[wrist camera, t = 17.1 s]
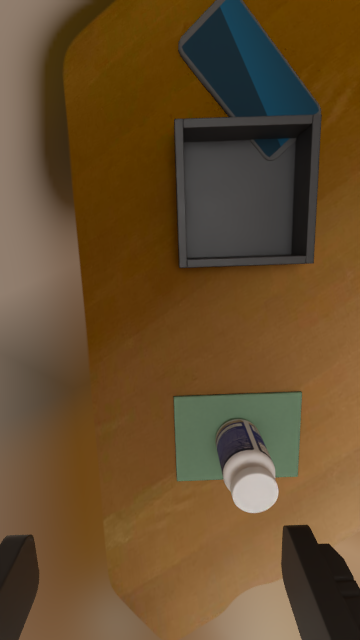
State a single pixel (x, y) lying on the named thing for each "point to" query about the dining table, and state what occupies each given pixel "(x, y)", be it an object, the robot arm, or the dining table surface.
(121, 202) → the dining table surface
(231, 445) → the pill bottle
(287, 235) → the black box
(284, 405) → the mat
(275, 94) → the smartphone
